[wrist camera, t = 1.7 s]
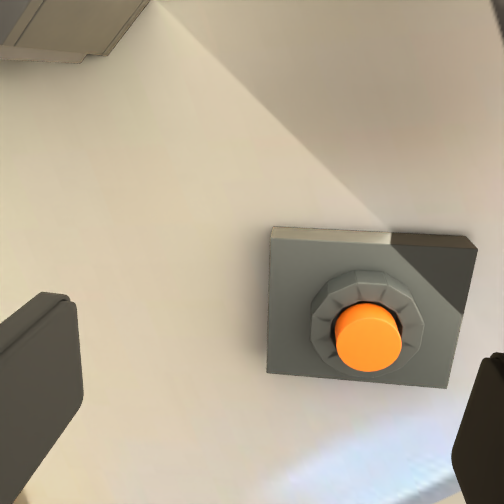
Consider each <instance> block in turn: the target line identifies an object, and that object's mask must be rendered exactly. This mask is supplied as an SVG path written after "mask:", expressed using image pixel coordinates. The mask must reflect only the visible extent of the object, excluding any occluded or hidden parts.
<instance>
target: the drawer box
mask: <svg viewBox="0 0 504 504" xmlns="http://www.w3.org/2000/svg"><path fill="white" fill-rule="evenodd" d="M149 1H150V0H0V45H1V46H8V47H12V46H13V47H20V48H30V49H41V50H52V51H62V52H73V53H83V54H94V55H102V56H108V54H109V53H110V52H111V51H112V49H113V48H114V47H115V45H116V44H117V43H118V41H119V40H120V39H121V38H122V36H123V35H124V34H125V32H126V31H127V30H128V28H129V27H130V26H131V25H132V23H133V22H134V21H135V19H136V18H137V17H138V15H139V14H140V13H141V11H142V10H143V9H144V8H145V6H146V5H147V4H148V2H149Z"/></svg>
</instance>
